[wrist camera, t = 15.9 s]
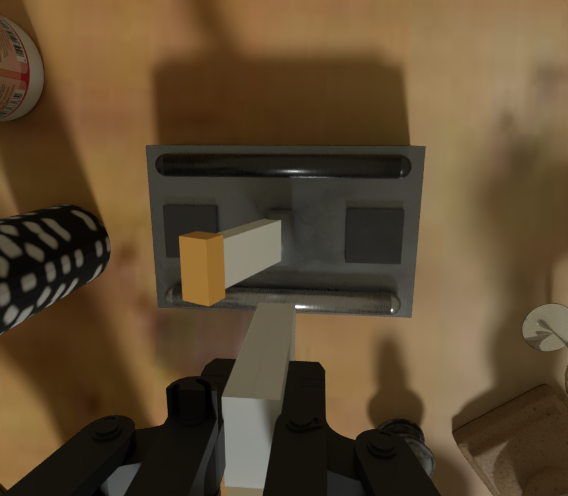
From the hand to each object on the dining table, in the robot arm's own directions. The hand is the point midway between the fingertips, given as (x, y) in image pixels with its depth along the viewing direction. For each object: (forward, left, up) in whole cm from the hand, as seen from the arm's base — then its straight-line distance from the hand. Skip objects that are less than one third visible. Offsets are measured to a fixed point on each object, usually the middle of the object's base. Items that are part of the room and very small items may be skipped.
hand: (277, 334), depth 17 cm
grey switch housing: (-1, +1, -24) cm, 24 cm away
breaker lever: (-1, +1, -18) cm, 18 cm away
